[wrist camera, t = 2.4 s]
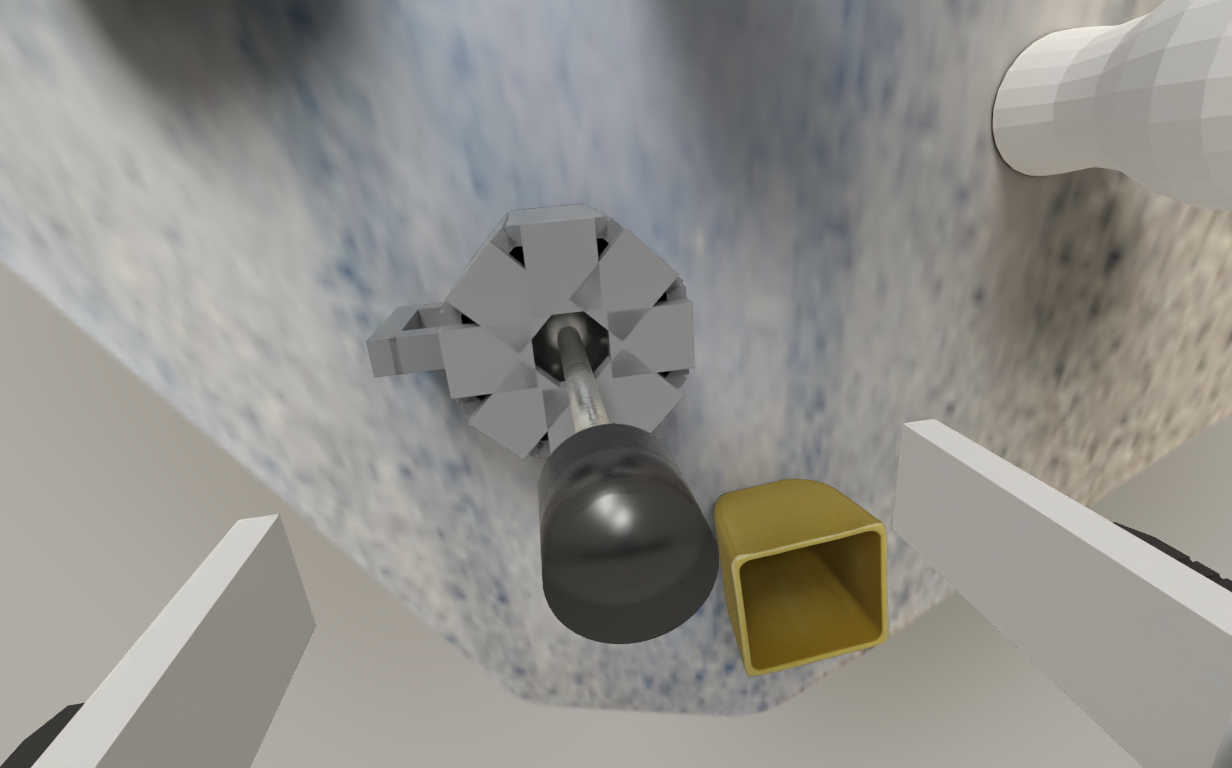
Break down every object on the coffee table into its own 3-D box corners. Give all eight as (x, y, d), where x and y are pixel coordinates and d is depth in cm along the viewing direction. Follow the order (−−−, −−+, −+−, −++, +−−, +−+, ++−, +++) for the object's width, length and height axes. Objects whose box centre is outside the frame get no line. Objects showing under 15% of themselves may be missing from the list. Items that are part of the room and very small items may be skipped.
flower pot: (703, 580, 42) (747, 682, 34) (686, 477, 39) (731, 561, 30) (818, 551, 43) (889, 643, 34) (811, 447, 40) (888, 521, 31)
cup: (942, 75, 32) (1258, 2, 18) (1109, -43, 32) (1573, -214, 18) (1001, 235, 36) (1300, 274, 22) (1152, 133, 35) (1561, 108, 22)
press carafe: (388, 220, 31) (322, 244, 21) (637, 197, 32) (689, 208, 22) (425, 397, 34) (385, 489, 24) (648, 368, 36) (697, 445, 26)
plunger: (483, 269, 24) (412, 436, 9) (633, 254, 25) (808, 383, 10) (505, 409, 27) (480, 736, 11) (642, 391, 27) (797, 675, 12)
